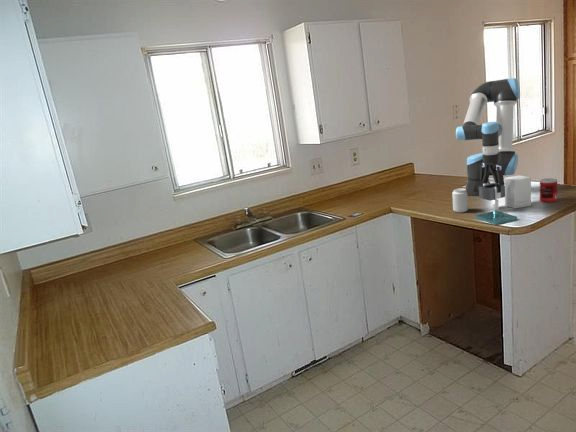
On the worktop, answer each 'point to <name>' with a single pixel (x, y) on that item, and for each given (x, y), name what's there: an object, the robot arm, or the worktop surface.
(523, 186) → the supplement box
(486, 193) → the grey open box
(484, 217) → the plate
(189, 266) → the worktop surface
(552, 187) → the canned food
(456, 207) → the can
